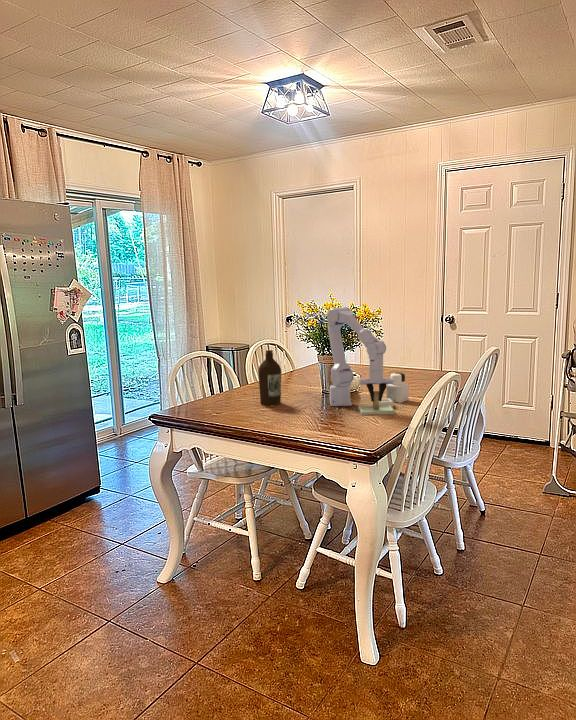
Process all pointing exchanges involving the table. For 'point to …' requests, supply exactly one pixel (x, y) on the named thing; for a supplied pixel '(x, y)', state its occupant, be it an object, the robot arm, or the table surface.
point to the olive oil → (270, 380)
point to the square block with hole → (386, 402)
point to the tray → (376, 410)
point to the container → (398, 388)
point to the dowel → (376, 399)
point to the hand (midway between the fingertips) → (376, 400)
